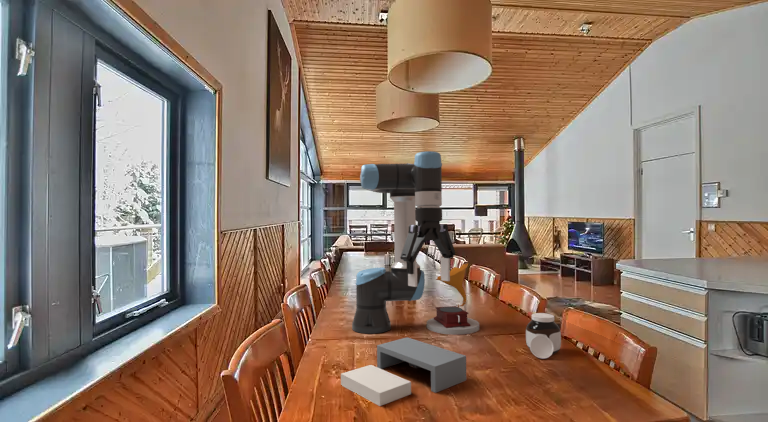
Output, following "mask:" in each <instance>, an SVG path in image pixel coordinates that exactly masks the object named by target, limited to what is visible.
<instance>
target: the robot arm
mask: <svg viewBox="0 0 768 422" xmlns="http://www.w3.org/2000/svg"><path fill="white" fill-rule="evenodd" d="M442 167H443V163H442V155H441V153H439V152H438V151H430V150H429V151H420V152H416V154H414V162H413V163H408V162H407V163H376V164H375V163H367V164H363V165H362V166H361V169H360V173H359V174H360V175H359V181H360V185H361V188H362V189H363V190H367V191H370V192H373V193H378V194H379V193H380V194H389V198H390V199H391V201H393V219H394V220H393V222H394V225H393V226H394V227H393V230H394V232H393V234H394V235H393V238H394V262H393V264H391V266H390V270H389V271H388V270H387V269H386V268H385V267H371V268H365V269H362V270H360V271H358V272H357V273H356V278H355V279H356V281H355V286H356V288H355V289H356V290H355V291H356V293H355V294H356V295H355V296H356V298H355V300H356V309H355V312H354V316H353V321H351V322H352V323H351V329H352V330H353V331H354V332H355V333H361V334H380V333H385V332H388V331H390V330H391V329H392V327H391V326H392V325H391V320H390V317H389V313H388V310H387V302H398V301H399V302H402V301H407V302H411V301H419V300H420V299H421V298H422V297H423V294H424V291H425V283H426V282H425V281H426V278H425V276H426V275H425V271H424V270H422V269H421V266H420V264H419V263H418V261H417V258H418V255H419V253H420V252H421V250H422V248H423V246H424V244H425V243H426V242H429V241H432V242H433V244H434V245H435V246H436V248H437V250H438V251H439V253H440V254H441V256H442V257H440V276H441V280H442V281H450V271H451V270H450V269H451V259H454V256H456V251H455V248H454V244H453V241H452V239H451V235H450V233H449V226H448V224H447V223H440V222H442V220H443V208H442V207H441V206H442V205H443V204H442V202H443V198H442V192H443V191H442V187H443V186H442V185H443V183H442V182H443V181H442V177H443V175H442V173H443V172H442V170H443V169H442ZM442 281H441V282H442Z"/></svg>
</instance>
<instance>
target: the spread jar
mask: <svg viewBox="0 0 768 422" xmlns="http://www.w3.org/2000/svg"><path fill="white" fill-rule="evenodd" d="M525 341H526V343H525V344H526V345H527V347H528V349H529V350H530V353H532V355H534V356H535V357H536V358H538V359H543V360H544V359H548V358H550V357H551V356H552V355H553V356H554V355H555V354H557V353H558V352H559V351H560V349H561V346H562V333H561V329H560V327H559V326H558V324H557V323H556V322H555V315H554V314H551V313H546V312H545V313H544V312H536V313H532V314H531V320H530V321H529V322H528V323H527V325H526V328H525Z"/></svg>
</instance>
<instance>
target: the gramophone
mask: <svg viewBox="0 0 768 422" xmlns="http://www.w3.org/2000/svg"><path fill="white" fill-rule="evenodd" d="M468 265H469V263H465V264H464V263H463V264H462V265H461V266H460V267H456V266H454V267H453V268H451V270H450V281H442V280H441V275H438V276H437V277H436V279H435V281H440V282H442V283H444V284H447V285H448V286H451V287H453V288H455V289H456V290H457V291H458V293H459V294H460V295H461V298H463V299H462V304H461V305H460V304H459V303H457V305H452V306H449V305H448V306H435V307H434V308H435V309H436V316H434V317H433V318H432V317H431V318H430V319H428V320H427V321H426V329H428V330H429V331H431V332H434V333H438V334H442V335H443V334H444V335H452V336H453V335H468V334H472V333H473V334H474V333H476V332H478V331H480V322H479V321H478V320H476V319H474V318H470V317H468V315H469V312H468V311H467V309H468V308H467V302H468V301H467V294H466V292H465V289H464V286H463V285H464V284H463V282H464V279H465V275H466V270H467V268H468ZM462 307H464V308H462Z"/></svg>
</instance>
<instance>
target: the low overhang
mask: <svg viewBox="0 0 768 422" xmlns="http://www.w3.org/2000/svg"><path fill="white" fill-rule="evenodd" d="M404 362H406V363H408V366H409V367H411V368H414V369H419V368H422V369H424V370H427V371H430V391H431V392H433V393H435V394H436V393H439V392H441V391H444V390H447V389H448V388H451V387H453V386H455V385H459V384H460V383H463V382H465V381H467V355H465V354H461V353H459V352H455V351H452V350H449V349H446V348H443V347H440V346H436V345H433V344H430V343H426V342H423V341H420V340H418V339H414V338H411V337H402V338H399V339H395V340H392V341H389V342H384V343H381V344H377V345H376V367H378V368H380V369H382V370H384V369H385V368H389V367H392V366H395V365H397V364H402V363H404Z"/></svg>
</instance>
